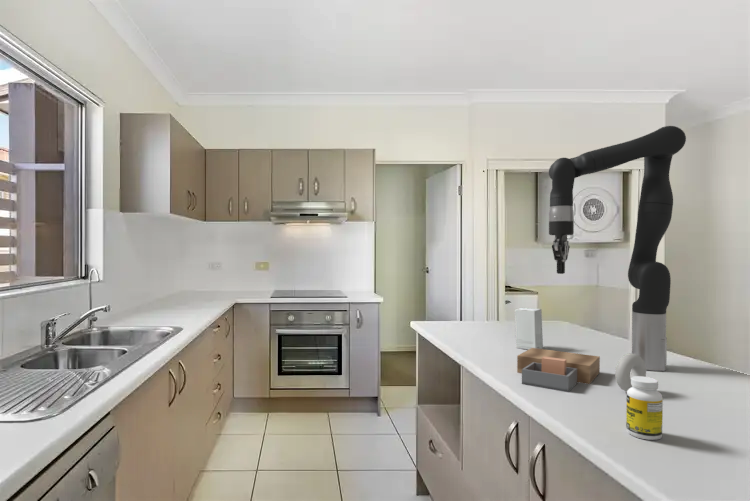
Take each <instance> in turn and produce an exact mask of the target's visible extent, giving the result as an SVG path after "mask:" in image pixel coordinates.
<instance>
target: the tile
mask: <svg viewBox="0 0 750 501" xmlns="http://www.w3.org/2000/svg"><path fill="white" fill-rule="evenodd" d="M542 372H546V373H553V374H559V375H565V376H566V359H560V358H553V357H545V356H544V357H542Z"/></svg>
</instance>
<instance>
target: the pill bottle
mask: <svg viewBox="0 0 750 501" xmlns="http://www.w3.org/2000/svg"><path fill="white" fill-rule="evenodd" d="M631 385H632V387H631V388H629V389H628V391H627V392H626V408H625V409H626V411H625V412H626V413H625V414H626V422H625V423H626V425H625V426H626V427H625V428H626V429H625V430H626V432H627V433H628V434H629V435H631V436H632V437H634V438H638V439H641V440H647V441H648V440H649V441H656V440H657V441H658V440H660V439H662V436H663V414H664V413H663V409H664V408H663V405H664V404H663V402H664V401H663V400H664V399H663V395H662V393H661V392H660V391H659V390H658V389H659V380H657V379H655V378H652V377H649V376H646V377H643V376H634V377H632V378H631Z"/></svg>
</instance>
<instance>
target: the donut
mask: <svg viewBox="0 0 750 501" xmlns="http://www.w3.org/2000/svg"><path fill="white" fill-rule="evenodd" d="M614 372H615V373H614V375H615V376H614V377H615V380H616V383H617V386H618V387H619V389H621V390H623V391H624V392H626V393H627V391H628V389H629V388H631V387H632V385H631V378H632V377H634V376H643V377H647V376H646V375H647V370H646V366H645V363H644V361H643V359H642V358H641V357H640V356H638V355H637V354H632V352H631V353H627V354H624V355H623V356H621V357H620V358H619V359H618V361H617V364H616V367H615V371H614Z"/></svg>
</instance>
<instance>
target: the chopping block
mask: <svg viewBox="0 0 750 501" xmlns="http://www.w3.org/2000/svg"><path fill="white" fill-rule="evenodd" d="M516 356H517V357H516V358H517V359H516V361H517V364H516V365H517V366H516V370H517V371H516V372H517V373H519V374H522V369H523V368H525V367H526V366H528V365H529V364H531V363H533V362H536V363H542V357H544V356H545V357H553V358H560V359H566V367H570V368H577V383H579V382H580V383H581V384H585V383H586V384H587V385H590V384H591V383H592V382H594V380H595V379H596V378H597V377H598V376H599V375H598V374H600V370H601V368H600V363H601V361H600V359H601V357H600V356H598V355H591V354H585V353H584V354H582V353H576V352H575V353H574V352H568V351H567V352H566V351H559V350H552V349H546V348H545V349H544V348H543V349H537V348H531V349H529V350H527V349H526V350H525V351H523V352H522V353H520V354H518V355H516ZM597 375H598V376H597Z"/></svg>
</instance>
